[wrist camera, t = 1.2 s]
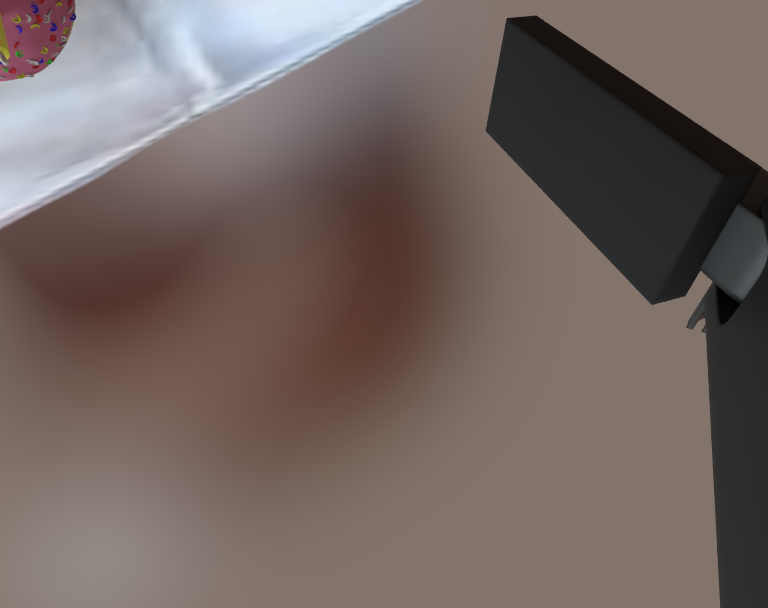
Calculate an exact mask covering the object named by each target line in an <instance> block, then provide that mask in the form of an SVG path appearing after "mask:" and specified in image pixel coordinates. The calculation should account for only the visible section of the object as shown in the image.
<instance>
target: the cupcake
mask: <svg viewBox="0 0 768 608" xmlns="http://www.w3.org/2000/svg"><path fill="white" fill-rule="evenodd" d="M75 19H76V15H75V0H0V81H7V80H13V79H19V78H24V77H27V76H29V77H34V74H36V73H38V72H40V71H42V70H43V69H45V68H46V67H47V66H48V65H49V64H51V63H52V62H53V61H54V60H55V58H56V57H57V56H58V55H59V54H60V52H61V51H62V49H63V48H64V46H65V44H66V43H67V40H68V38H69V36H70V33H71V30H72V27H73V23H74V20H75Z"/></svg>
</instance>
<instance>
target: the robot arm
mask: <svg viewBox="0 0 768 608" xmlns="http://www.w3.org/2000/svg"><path fill="white" fill-rule="evenodd" d="M486 132H487V133H488V134H489V135H490V136H491V137H492V138H493V139H494V140H495V141H496V142H497V143H498V144H499V145H500V147H501V148H503V150H504V151H505V152H506V153H507V154H508V155H509V156H510V157H511V158H512V159H513V160H514V161H515V162H516V163H517V164H518V165H519V166H520V167H521V169H522V170H523V171H524V172H525V173H526V174H527V175H528V176H529V177H530V178H531V179H532V180H533V181H534V182H535V183H536V184H537V185H538V186H539V187H540V188H541V189H542V190H543V192H545V194H546V195H547V196H548V197H549V198H550V199H551V200H552V201H553V202H554V203H555V204H556V205H557V206H558V207H559V208H560V209H561V210H562V211H563V212H564V214H565V215H566V216H567V217H568V218H569V219H570V220H571V221H572V222H573V223H574V224H575V225H576V226H577V227H578V228H579V229H580V230H581V231H582V232H583V233H584V234H585V235H586V237H587V238H588V239H589V240H590V241H591V242H592V243H593V244H594V245H595V246H596V247H597V248H598V249H599V250H600V251H601V252H602V253H603V254H604V255H605V256H606V257H607V258H608V260H610V261H611V263H612V264H613V265H614V266H615V267H616V268H617V269H618V270H619V271H620V272H621V273H622V274H623V275H624V276H625V277H626V278H627V279H628V280H629V282H630V283H631V284H632V285H633V286H634V287H635V288H636V289H637V290H638V291H639V292H640V293H641V294H642V295H643V296H644V297H645V298H646V299H647V300H648V301H649V302H650V303H651V304H652V305H654V304H657V303H661V302H665V301H669V300H672V299H676V298H680V297H684V296H685V295H686V294H687V292H688V290H689V289H690V287H691V285H692V284H693V282H694V280H695V279H696V277H697V275H698V274H699V272H700V270H701V271H702V272H703V273H704V274H705V275H707V277H708V278H710V279H711V280H712V281H713V283H712V284H711V286H710V287H709V289H708V291H707V292H706V294H705V295H704V297H703V298H702V300H701V302H700V303H699V305H698V306H697V308H696V310H695V311H694V313H693V314H692V316H691V318H690V319H689V321H688V324H687V328H689V329H693V328H694V326H695V325H696V323H697V322H698V321H699V320H701V319H703V318H705V322H706V325H705V326H704V328H703V329H702V332H704V333H706V342H707V361H708V380H709V400H710V418H711V438H712V455H713V456H712V457H713V476H714V494H715V513H716V534H717V553H718V571H719V590H720V608H768V172H767V171H766V170H764V169H763V168H762V167H761V166H759V165H758V164H756V163H755V162H753V161H752V160H750V159H749V158H747V157H746V156H744V155H743V154H741V153H740V152H738V151H737V150H736V149H734V148H733V147H731V146H730V145H728V144H727V143H725V142H723V141H722V140H721V139H719V138H718V137H716V136H715V135H713V134H711V133H710V132H709V131H707V130H706V129H704V128H703V127H701V126H700V125H698V124H697V123H695V122H694V121H692V120H691V119H689V118H688V117H686V116H685V115H683V114H682V113H680V112H679V111H677V110H676V109H675V108H673V107H672V106H670V105H668V104H667V103H666V102H664V101H663V100H661V99H659V98H658V97H657V96H655V95H654V94H652V93H651V92H649V91H648V90H646V89H645V88H643V87H642V86H640V85H639V84H637V83H636V82H634V81H633V80H631V79H630V78H628V77H627V76H625V75H624V74H622V73H621V72H619V71H618V70H616V69H615V68H614V67H612V66H611V65H609V64H607V63H606V62H604V61H603V60H601V59H600V58H599V57H597V56H595V55H594V54H593V53H591V52H590V51H588V50H586V49H585V48H584V47H582V46H581V45H579V44H578V43H576V42H575V41H573V40H572V39H570V38H569V37H567V36H566V35H564V34H563V33H561V32H560V31H558V30H557V29H555V28H554V27H552V26H551V25H549V24H548V23H546V22H545V21H544V20H542V19H541V18H539V17H538V16H527V17H515V18H507V20H506V25H505V30H504V36H503V41H502V46H501V52H500V57H499V63H498V68H497V73H496V79H495V84H494V89H493V94H492V100H491V105H490V110H489V116H488V121H487V126H486Z"/></svg>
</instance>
